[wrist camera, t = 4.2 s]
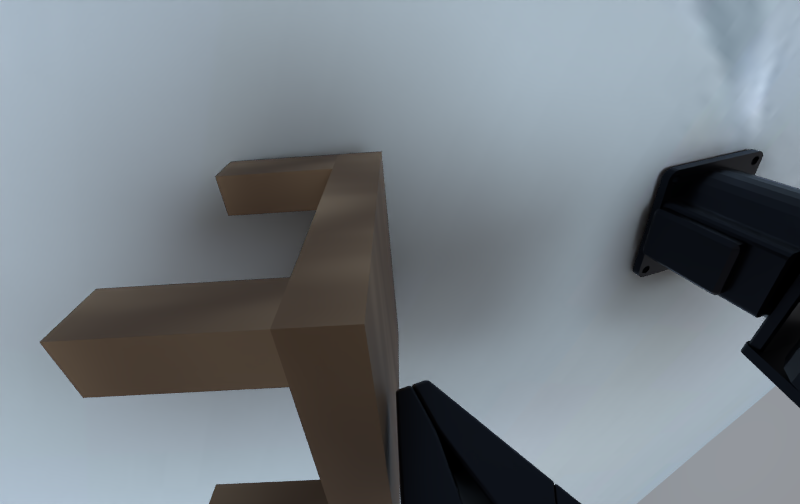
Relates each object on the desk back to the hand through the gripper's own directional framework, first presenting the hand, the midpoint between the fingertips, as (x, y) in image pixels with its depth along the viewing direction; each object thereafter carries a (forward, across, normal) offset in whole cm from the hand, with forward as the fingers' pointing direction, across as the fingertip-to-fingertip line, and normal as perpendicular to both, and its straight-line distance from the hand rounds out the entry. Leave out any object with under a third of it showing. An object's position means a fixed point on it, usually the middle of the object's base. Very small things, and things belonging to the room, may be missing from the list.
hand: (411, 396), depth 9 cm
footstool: (+7, +1, 0) cm, 7 cm away
